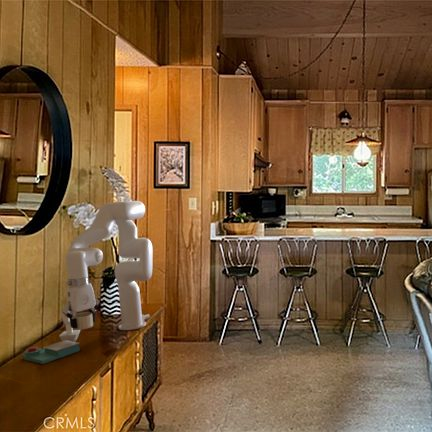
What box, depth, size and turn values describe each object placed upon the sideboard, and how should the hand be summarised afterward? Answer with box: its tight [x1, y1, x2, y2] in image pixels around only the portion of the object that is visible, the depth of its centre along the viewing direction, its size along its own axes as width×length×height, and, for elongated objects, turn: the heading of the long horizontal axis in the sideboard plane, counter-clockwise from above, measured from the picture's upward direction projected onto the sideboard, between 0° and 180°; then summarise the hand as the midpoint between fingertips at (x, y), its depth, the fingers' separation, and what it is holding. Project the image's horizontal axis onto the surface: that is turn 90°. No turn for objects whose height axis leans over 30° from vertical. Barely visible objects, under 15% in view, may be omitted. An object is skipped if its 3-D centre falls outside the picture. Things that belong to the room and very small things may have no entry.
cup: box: [73, 311, 94, 331], centre depth 197 cm, size 7×7×5 cm
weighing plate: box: [42, 340, 80, 359], centre depth 201 cm, size 10×10×4 cm
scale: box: [22, 347, 59, 365], centre depth 200 cm, size 16×14×3 cm
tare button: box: [27, 345, 38, 352], centre depth 198 cm, size 3×3×2 cm
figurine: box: [58, 311, 81, 342], centre depth 218 cm, size 7×9×15 cm
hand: (83, 324), depth 197 cm, fingers closed on cup, 7 cm apart
